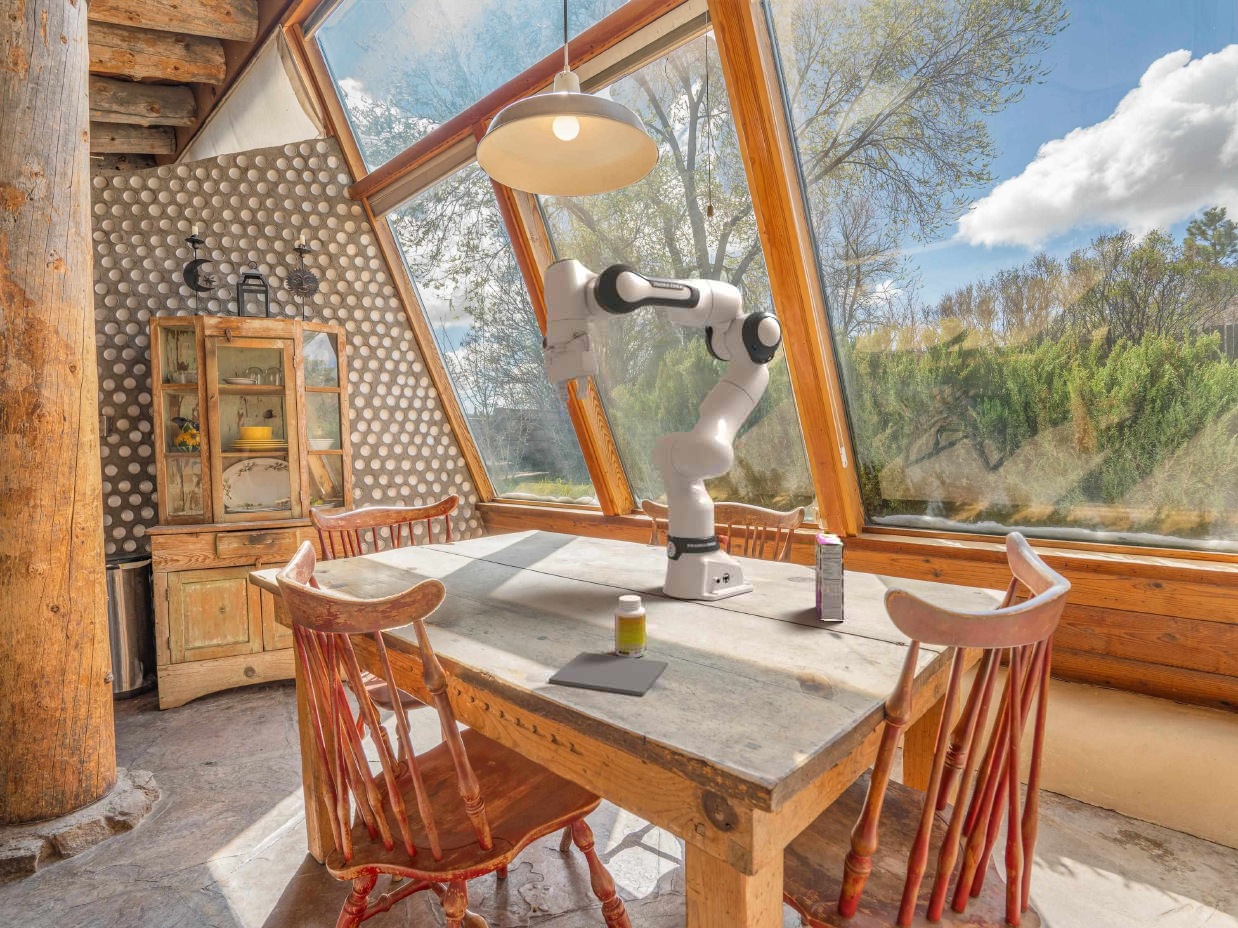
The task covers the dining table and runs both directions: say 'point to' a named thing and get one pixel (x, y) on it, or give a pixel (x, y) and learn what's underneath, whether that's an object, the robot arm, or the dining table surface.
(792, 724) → the dining table surface
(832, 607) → the candy bar box
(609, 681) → the mat
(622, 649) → the supplement bottle
